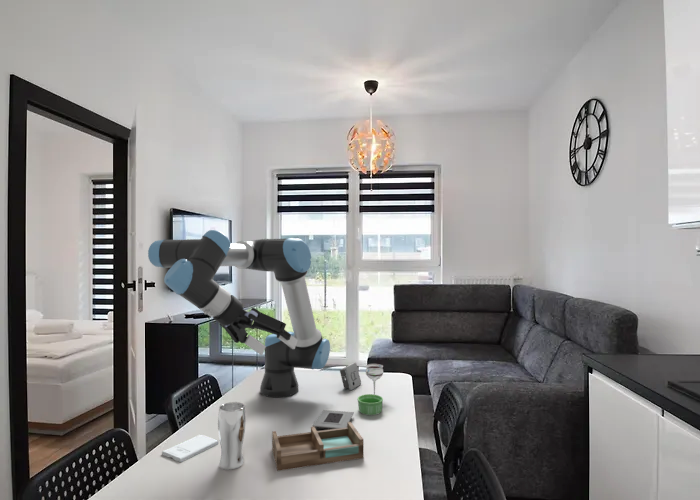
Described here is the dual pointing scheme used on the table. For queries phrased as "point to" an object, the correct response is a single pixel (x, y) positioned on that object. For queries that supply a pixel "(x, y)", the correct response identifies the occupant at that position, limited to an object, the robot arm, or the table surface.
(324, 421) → the electrical outlet
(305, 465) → the caddy
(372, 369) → the wineglass
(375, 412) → the ramekin
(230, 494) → the table surface
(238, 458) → the chrome pint tumbler
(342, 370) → the electrical switch
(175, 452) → the external hard drive
